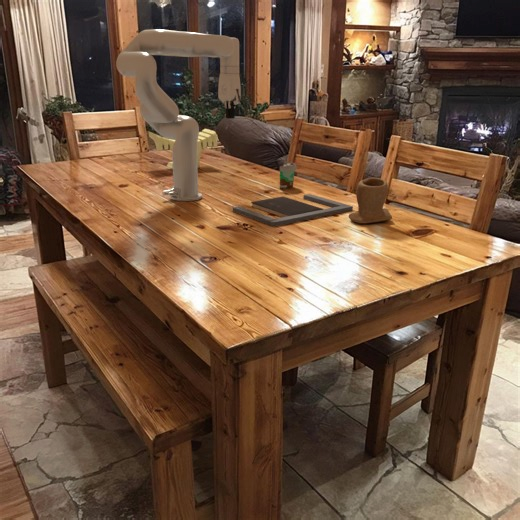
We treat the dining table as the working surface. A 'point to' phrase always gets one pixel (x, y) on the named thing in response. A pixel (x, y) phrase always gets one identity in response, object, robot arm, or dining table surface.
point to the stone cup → (371, 201)
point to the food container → (287, 175)
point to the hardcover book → (284, 206)
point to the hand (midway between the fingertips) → (230, 118)
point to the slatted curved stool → (204, 140)
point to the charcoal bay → (300, 217)
